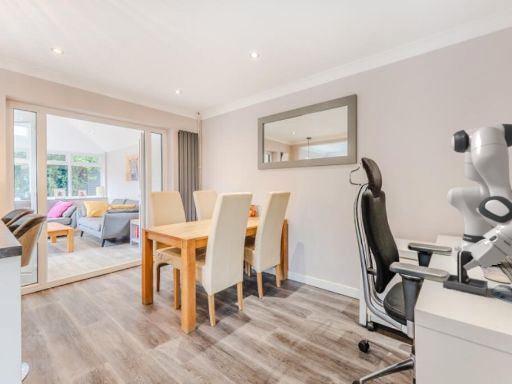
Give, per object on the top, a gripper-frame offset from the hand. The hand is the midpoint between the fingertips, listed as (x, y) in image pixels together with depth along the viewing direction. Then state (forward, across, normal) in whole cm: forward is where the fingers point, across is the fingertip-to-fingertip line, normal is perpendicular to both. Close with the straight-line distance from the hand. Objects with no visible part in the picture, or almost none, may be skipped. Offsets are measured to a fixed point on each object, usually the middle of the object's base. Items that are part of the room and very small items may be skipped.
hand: (463, 265), depth 93 cm
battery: (+4, 0, +5) cm, 6 cm away
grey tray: (+5, 0, +6) cm, 8 cm away
